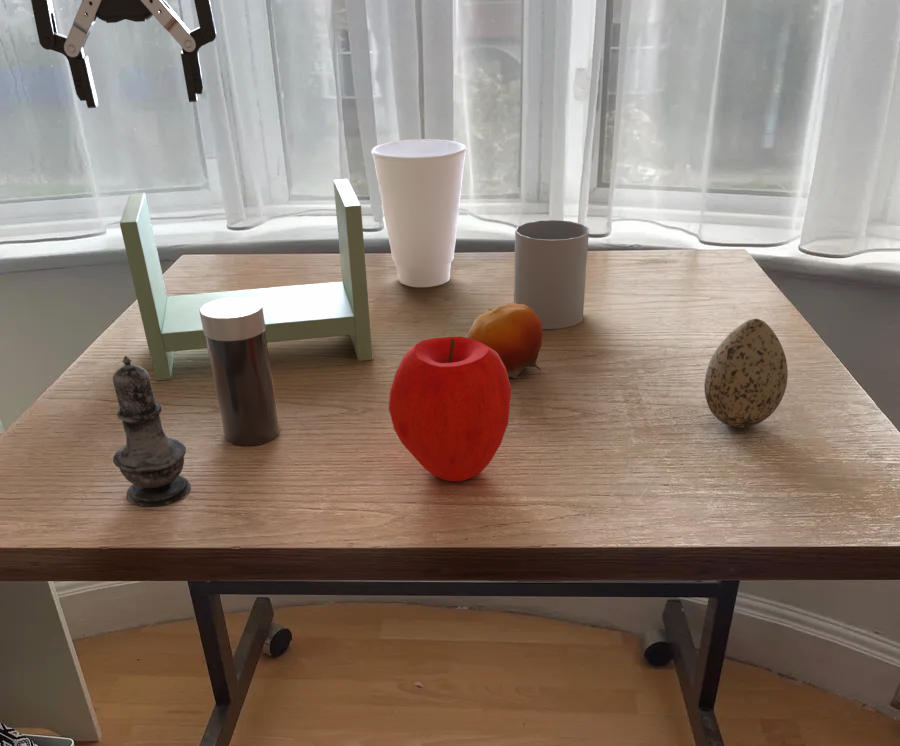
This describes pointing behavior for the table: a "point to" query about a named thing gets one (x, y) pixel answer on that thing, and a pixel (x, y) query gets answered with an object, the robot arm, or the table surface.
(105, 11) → the robot arm
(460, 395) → the apple
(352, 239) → the shelf
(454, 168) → the cup
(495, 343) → the fruit
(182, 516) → the table surface
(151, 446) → the salt shaker
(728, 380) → the decorative egg
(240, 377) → the tumbler
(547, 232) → the cup
